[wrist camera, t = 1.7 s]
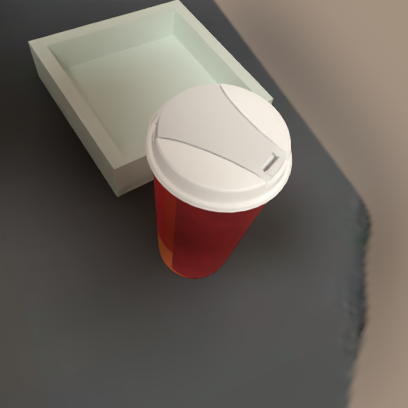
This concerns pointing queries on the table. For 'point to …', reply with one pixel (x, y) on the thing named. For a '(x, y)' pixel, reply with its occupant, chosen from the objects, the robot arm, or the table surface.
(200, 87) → the paper cup
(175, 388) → the table surface
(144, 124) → the tray
